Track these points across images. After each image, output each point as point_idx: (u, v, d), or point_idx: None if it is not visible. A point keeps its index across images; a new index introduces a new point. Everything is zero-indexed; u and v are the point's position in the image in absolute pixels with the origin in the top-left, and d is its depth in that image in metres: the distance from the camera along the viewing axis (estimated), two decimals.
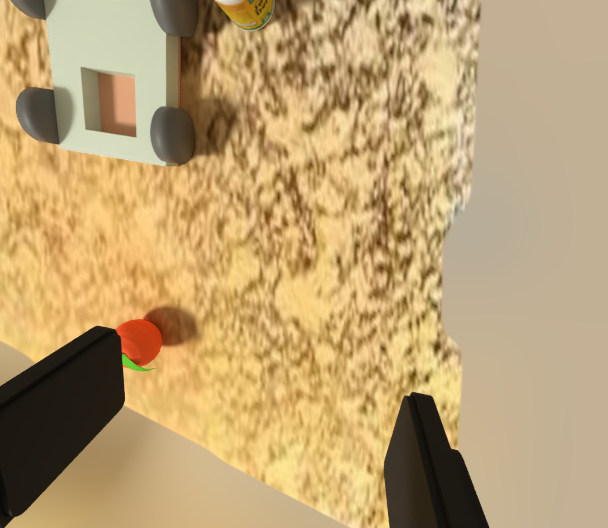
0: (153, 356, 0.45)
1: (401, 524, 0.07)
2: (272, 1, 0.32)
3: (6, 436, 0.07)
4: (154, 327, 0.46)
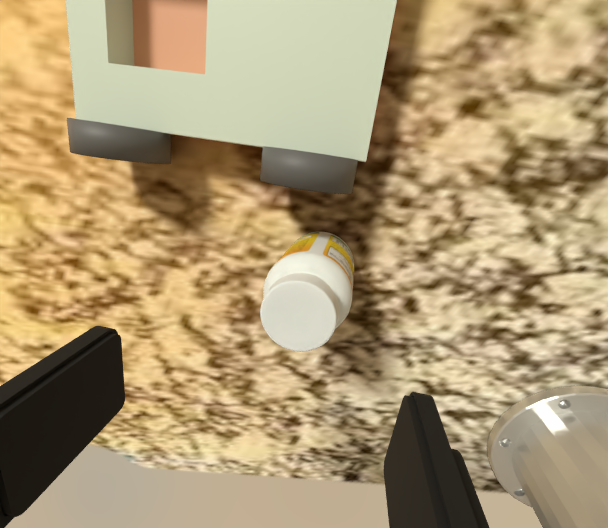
0: None
1: (401, 524, 0.07)
2: None
3: (6, 436, 0.07)
4: None
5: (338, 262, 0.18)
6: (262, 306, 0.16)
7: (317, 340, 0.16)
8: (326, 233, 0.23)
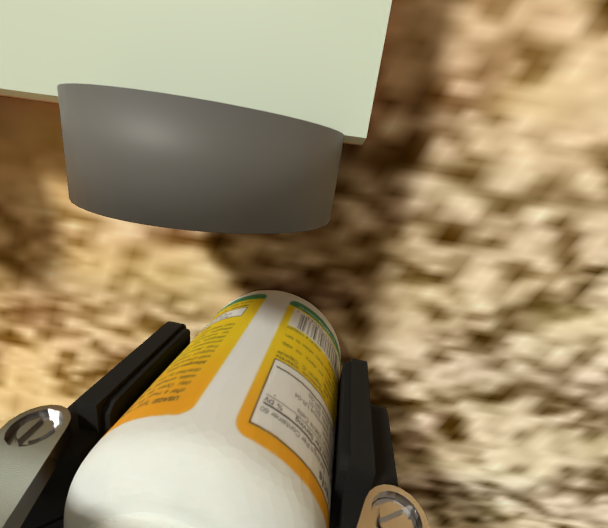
0: None
1: None
2: None
3: (117, 418, 0.07)
4: None
5: (282, 446, 0.06)
6: None
7: None
8: (281, 297, 0.11)
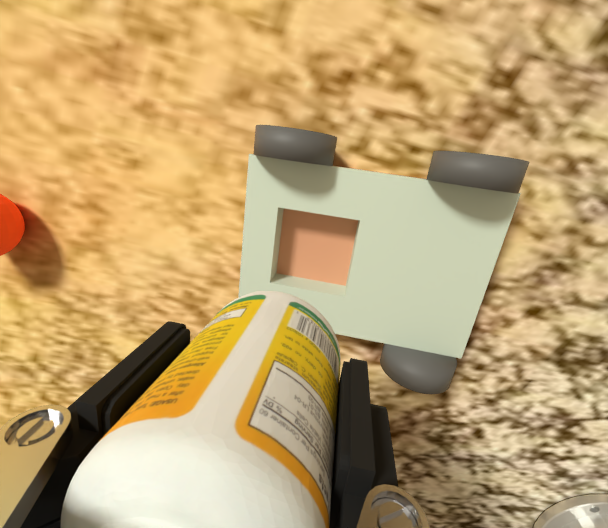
0: None
1: None
2: None
3: (118, 418, 0.07)
4: (16, 244, 0.31)
5: (281, 450, 0.06)
6: None
7: None
8: (281, 298, 0.11)
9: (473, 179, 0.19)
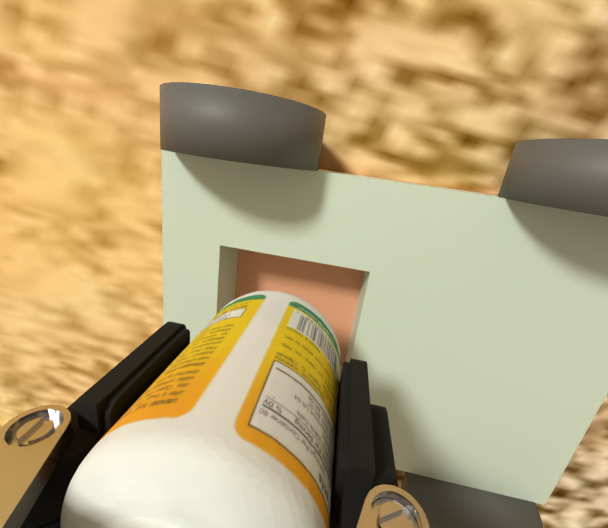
0: None
1: None
2: None
3: (117, 418, 0.07)
4: None
5: (281, 449, 0.06)
6: None
7: None
8: (281, 298, 0.11)
9: None
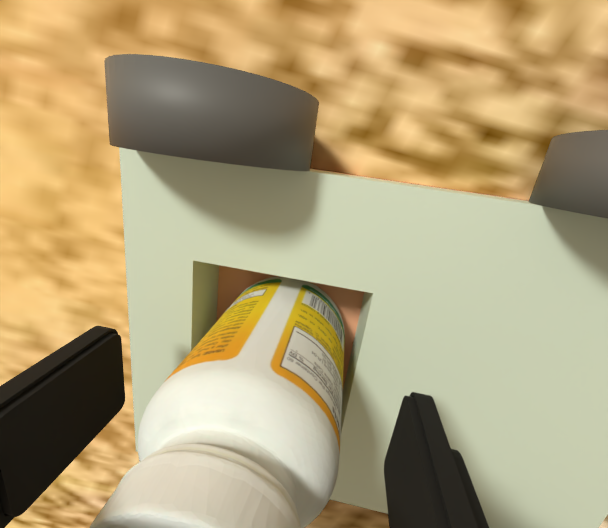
0: None
1: (401, 524, 0.07)
2: None
3: (6, 436, 0.07)
4: None
5: (305, 384, 0.08)
6: None
7: None
8: (294, 281, 0.13)
9: None
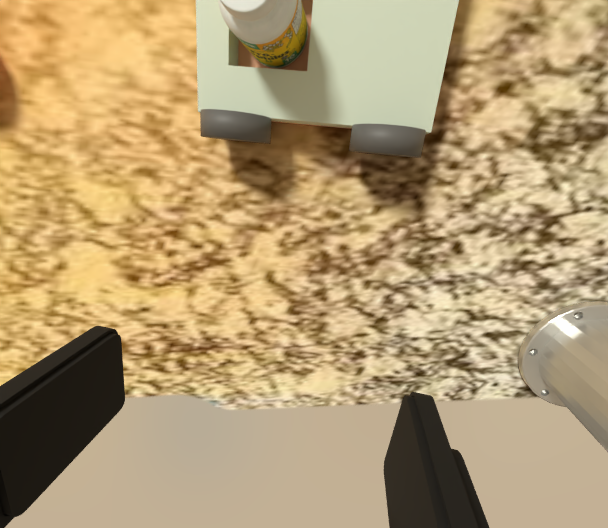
0: None
1: (401, 524, 0.07)
2: (270, 65, 0.26)
3: (6, 436, 0.07)
4: None
5: None
6: None
7: None
8: None
9: None
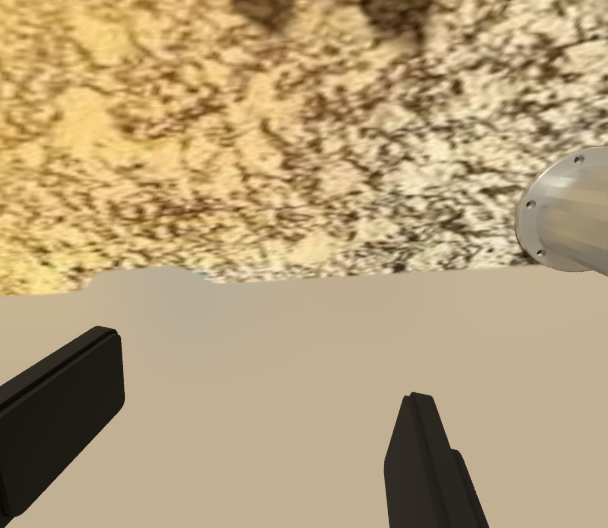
0: None
1: (401, 524, 0.07)
2: None
3: (6, 436, 0.07)
4: None
5: None
6: None
7: None
8: None
9: None
